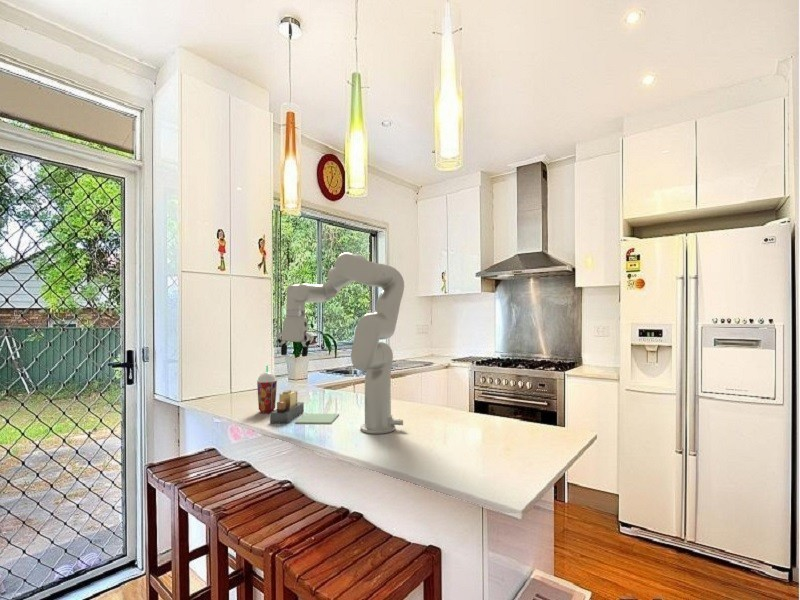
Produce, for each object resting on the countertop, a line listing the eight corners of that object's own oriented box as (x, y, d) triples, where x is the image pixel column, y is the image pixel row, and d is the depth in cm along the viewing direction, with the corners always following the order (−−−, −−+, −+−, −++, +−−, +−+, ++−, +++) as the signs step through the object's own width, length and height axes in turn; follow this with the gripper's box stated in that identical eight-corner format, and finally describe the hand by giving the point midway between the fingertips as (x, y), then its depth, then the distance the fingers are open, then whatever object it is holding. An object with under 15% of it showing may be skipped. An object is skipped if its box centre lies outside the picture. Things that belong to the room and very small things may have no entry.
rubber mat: (339, 415, 169) (339, 413, 169) (331, 424, 155) (331, 422, 155) (306, 415, 170) (306, 413, 170) (295, 423, 156) (295, 422, 156)
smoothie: (281, 411, 178) (281, 365, 179) (265, 415, 171) (265, 367, 172) (268, 409, 182) (268, 364, 183) (252, 412, 175) (252, 366, 176)
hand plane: (303, 411, 176) (303, 390, 177) (287, 423, 156) (287, 400, 157) (287, 411, 177) (287, 390, 177) (269, 423, 157) (270, 399, 157)
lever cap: (295, 405, 170) (295, 389, 170) (290, 409, 163) (290, 392, 163) (285, 405, 170) (285, 389, 171) (279, 409, 163) (279, 392, 164)
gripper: (318, 314, 170) (317, 355, 169) (282, 313, 175) (281, 353, 174) (309, 315, 163) (308, 357, 162) (272, 313, 168) (270, 355, 167)
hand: (294, 355), depth 168 cm, fingers open, 9 cm apart
